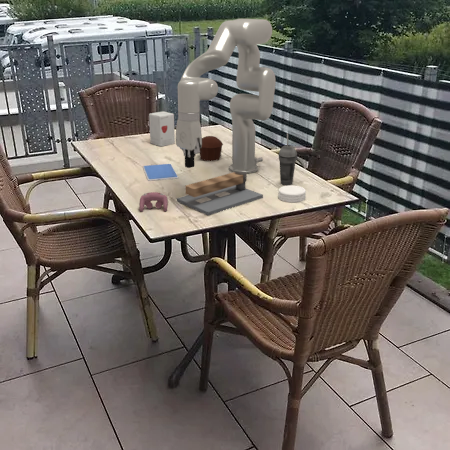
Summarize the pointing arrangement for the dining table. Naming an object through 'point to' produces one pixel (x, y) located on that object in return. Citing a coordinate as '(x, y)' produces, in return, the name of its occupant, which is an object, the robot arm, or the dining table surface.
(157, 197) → the video game controller
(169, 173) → the tablet computer
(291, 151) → the beverage cup
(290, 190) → the white round container
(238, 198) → the label panel
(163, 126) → the supplement box
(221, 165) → the dining table surface
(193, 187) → the swing bar
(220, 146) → the muffin
